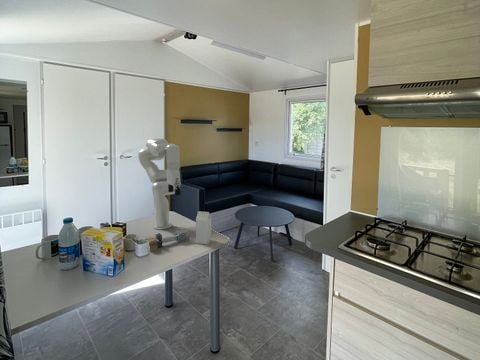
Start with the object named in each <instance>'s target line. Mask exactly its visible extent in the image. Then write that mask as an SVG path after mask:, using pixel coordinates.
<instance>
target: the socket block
mask: <svg viewBox="0 0 480 360" xmlns="http://www.w3.org/2000/svg"><path fill="white" fill-rule="evenodd" d="M144 238H145V241H146V240H148V241H149V246H150V251H149V252H153V251H154V252H155V251H157V250H158V247H157V240H156V238H155V237H154V236H153V235H151V236H150V235H149V236H146V237H144Z"/></svg>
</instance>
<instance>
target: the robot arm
mask: <svg viewBox="0 0 480 360" xmlns="http://www.w3.org/2000/svg"><path fill="white" fill-rule="evenodd" d="M145 146H146V147H145V148H144V149H141V150H139V152H138V161H139V163H140V165H141V166H142V168H143V169H144V170H145V171H146V174H147V176H148V179H149V181H150V183H151V184H152V185H151V191H152V197H153V205H154V207H153V209H154V223H153V225H152V228H153V229H154V230H161V231H162V230H168V229H170V228H171V227H172V226H173V224H172V223H171V222H170V204H169V203H170V202H169V200H168V198H167V197H166V196H168V195H169V196H170V195H175V197H177V196H181V185H182V183H181V173H180V168H181V163H180V162H181V161H180V159H181V158H180V146H179V145H178V144H174V143H169V142H168V140H167V139H165V138H151V139H149V140H147V141H146V143H145ZM165 157H166V169H159V167H158V165H157V164H156V163H155V162H153V161H162V160H164V159H165Z"/></svg>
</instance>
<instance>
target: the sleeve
mask: <svg viewBox="0 0 480 360" xmlns="http://www.w3.org/2000/svg"><path fill="white" fill-rule="evenodd" d="M176 234H177V235H178V240H174V242H176V243H178V244H182V243H185V242H189V241H190V231H189V230H187V229H186V228H184V229H183V228H182V229H178V230H175V231H174V235H176Z"/></svg>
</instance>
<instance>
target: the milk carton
mask: <svg viewBox="0 0 480 360" xmlns="http://www.w3.org/2000/svg"><path fill="white" fill-rule="evenodd" d="M211 240H212V216H211V215H210V211H200V210H199V211H197V215H196V218H195V243H196V244H198V245H199V244H201V245H208V244H209V243H210V242H211Z"/></svg>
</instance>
